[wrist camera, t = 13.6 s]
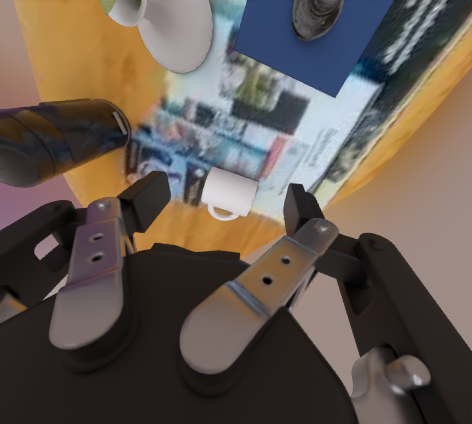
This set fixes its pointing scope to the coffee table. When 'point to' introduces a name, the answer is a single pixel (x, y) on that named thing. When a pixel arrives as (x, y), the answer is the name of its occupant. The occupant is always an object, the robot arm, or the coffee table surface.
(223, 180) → the mug
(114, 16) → the flower in vase
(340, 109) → the coffee table surface
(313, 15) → the dark grey turned piece
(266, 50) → the blue notebook
